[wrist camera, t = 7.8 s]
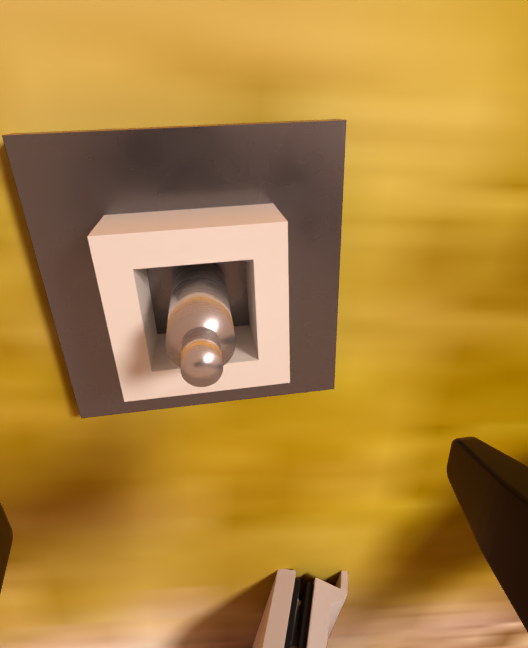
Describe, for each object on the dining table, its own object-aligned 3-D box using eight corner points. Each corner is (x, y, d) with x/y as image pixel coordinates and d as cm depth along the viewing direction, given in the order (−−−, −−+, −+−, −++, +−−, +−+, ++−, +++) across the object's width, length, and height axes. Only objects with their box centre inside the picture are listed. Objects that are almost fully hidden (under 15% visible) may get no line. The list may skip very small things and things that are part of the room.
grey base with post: (338, 119, 17) (430, 128, 10) (328, 377, 23) (385, 492, 16) (12, 133, 16) (-119, 155, 9) (85, 405, 21) (37, 542, 15)
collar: (272, 203, 17) (287, 221, 15) (277, 345, 20) (290, 382, 17) (104, 215, 16) (87, 236, 14) (133, 361, 19) (124, 401, 17)
